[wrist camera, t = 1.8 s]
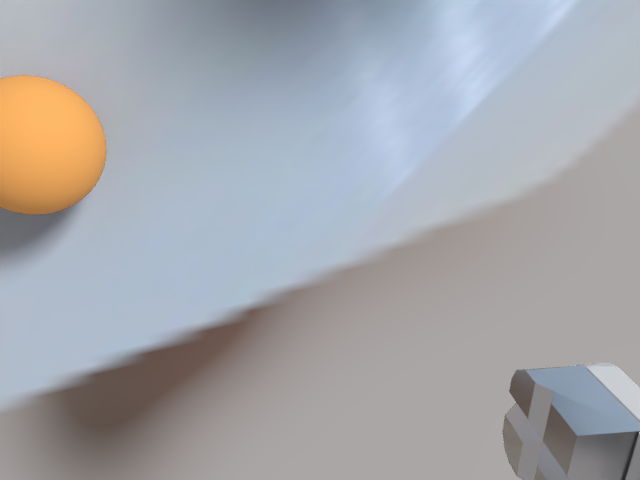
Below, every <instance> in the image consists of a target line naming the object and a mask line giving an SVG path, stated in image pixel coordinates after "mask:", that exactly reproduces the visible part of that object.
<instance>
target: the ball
mask: <svg viewBox="0 0 640 480" xmlns="http://www.w3.org/2000/svg"><path fill="white" fill-rule="evenodd" d="M105 161H106V140H105V135H104V131H103V128H102V125H101V123H100V121H99V119H98V117H97V116H96V114H95V112H94V111H93V110H92V108H91V107H90V106H89V105H88V103H87V102H86V101H85V100H84V99H83V98H82V97H81V96H79V95H78V94H77V93H75V92H74V91H73V90H71V89H69V88H68V87H66V86H64V85H62V84H60V83H58V82H56V81H52V80H49V79H46V78H42V77H37V76H27V75H21V76H11V77H5V78H1V79H0V207H1V208H4V209H6V210H9V211H13V212H16V213H22V214H33V215H37V214H48V213H53V212H57V211H60V210H63V209H66V208H68V207H70V206H72V205H74V204H76V203H77V202H79V201H80V200H82V199H83V198H84V197H85V196H86V195H87V194H88V193H89V192H90V191H91V190H92V189H93V188H94V186H95V185H96V183H97V182H98V180H99V178H100V176H101V174H102V171H103V169H104V165H105Z"/></svg>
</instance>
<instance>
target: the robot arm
mask: <svg viewBox="0 0 640 480" xmlns="http://www.w3.org/2000/svg"><path fill="white" fill-rule="evenodd" d="M509 391H510V394H511V395H512V397H513V398H514V399H515V401H516V403H515V404H514V406H513V407H512V408H511V409H510V410H509V411H508V412H507V413H506V414H505V419H504V426H503V438H504V447H505V452H506V454H507V457H508V460H509V463H510V465H511V466H512V468H513V470H514V472H515V474H516V476H518V477H519V478H521V479H522V480H640V388H639V387H638V386H637V385H636V384H635V383H634V382H633V381H632V380H630V378H629V377H627V376H626V374H624V373H623V372H622V371H621V370H620V369H619V368H618V367H617V366H615V365H613V364H610V363H608V362H603V363H592V364H581V365H576V366H568V367H553V368H538V369H523V370H516V372H515V374H514V376H513V377H512V380H511V385H510V390H509Z"/></svg>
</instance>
